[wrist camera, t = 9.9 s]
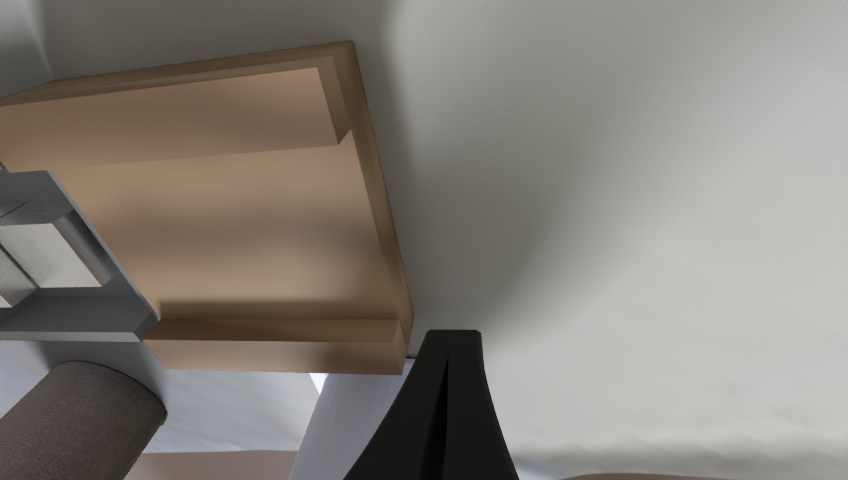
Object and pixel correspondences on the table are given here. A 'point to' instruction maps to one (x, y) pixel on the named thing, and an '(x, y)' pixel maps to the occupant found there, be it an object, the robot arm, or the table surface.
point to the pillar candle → (78, 426)
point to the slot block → (234, 205)
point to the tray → (72, 306)
